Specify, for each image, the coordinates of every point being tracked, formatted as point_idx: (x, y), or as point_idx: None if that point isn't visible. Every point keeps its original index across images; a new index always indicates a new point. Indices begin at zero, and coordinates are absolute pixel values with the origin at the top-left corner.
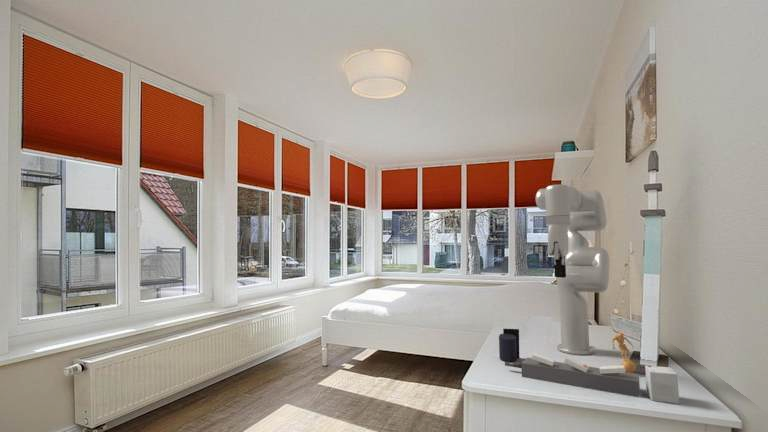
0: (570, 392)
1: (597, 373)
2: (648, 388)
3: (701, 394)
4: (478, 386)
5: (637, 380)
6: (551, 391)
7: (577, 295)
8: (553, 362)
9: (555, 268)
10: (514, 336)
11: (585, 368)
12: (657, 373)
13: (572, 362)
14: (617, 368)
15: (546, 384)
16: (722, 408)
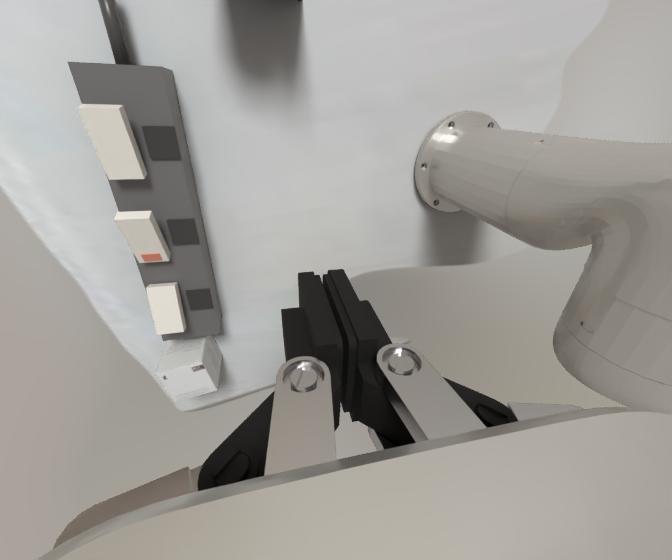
0: (79, 219)
1: (155, 276)
2: (180, 342)
3: (260, 377)
4: None
5: (169, 338)
6: (40, 179)
7: (566, 237)
8: (112, 179)
9: (311, 327)
10: None
11: (138, 258)
12: (161, 381)
13: (124, 234)
14: (154, 323)
15: (85, 155)
16: (211, 398)
